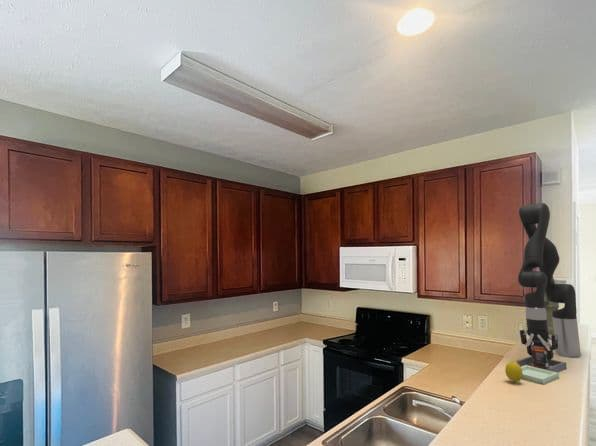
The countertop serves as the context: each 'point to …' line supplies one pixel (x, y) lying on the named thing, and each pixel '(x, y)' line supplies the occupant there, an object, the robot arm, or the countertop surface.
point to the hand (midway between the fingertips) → (540, 357)
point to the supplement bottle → (539, 355)
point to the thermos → (550, 313)
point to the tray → (538, 375)
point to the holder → (555, 365)
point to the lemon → (513, 371)
